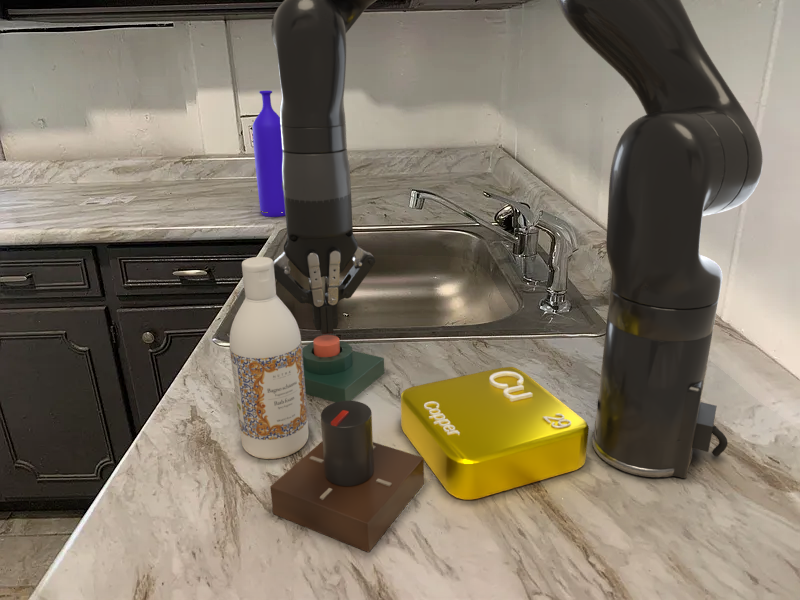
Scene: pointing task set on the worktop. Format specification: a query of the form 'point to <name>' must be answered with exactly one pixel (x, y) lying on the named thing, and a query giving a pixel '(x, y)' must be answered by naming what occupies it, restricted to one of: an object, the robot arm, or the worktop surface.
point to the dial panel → (349, 496)
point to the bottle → (269, 159)
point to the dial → (347, 442)
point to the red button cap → (326, 346)
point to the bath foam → (267, 367)
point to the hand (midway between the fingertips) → (326, 331)
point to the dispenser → (339, 373)
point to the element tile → (492, 431)
